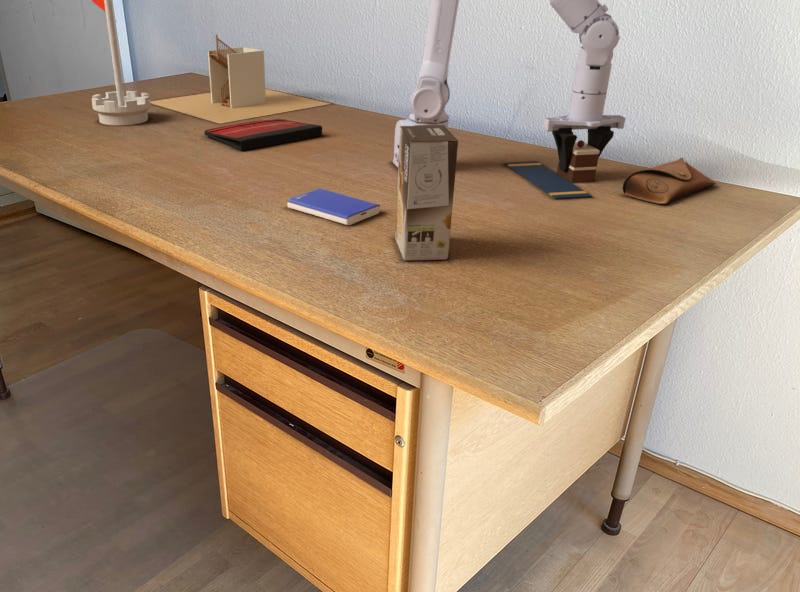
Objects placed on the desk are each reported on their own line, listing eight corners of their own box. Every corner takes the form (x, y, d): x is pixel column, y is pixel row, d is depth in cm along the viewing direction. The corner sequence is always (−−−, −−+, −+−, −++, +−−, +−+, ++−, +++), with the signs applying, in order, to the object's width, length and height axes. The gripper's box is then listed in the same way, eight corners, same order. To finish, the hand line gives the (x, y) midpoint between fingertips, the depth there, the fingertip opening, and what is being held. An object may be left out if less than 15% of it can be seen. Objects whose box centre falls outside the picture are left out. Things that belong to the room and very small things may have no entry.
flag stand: (164, 118, 175) (148, -25, 160) (122, 129, 165) (102, -23, 150) (124, 111, 181) (106, -27, 166) (82, 121, 171) (59, -25, 156)
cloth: (555, 199, 124) (555, 197, 124) (504, 164, 142) (505, 162, 142) (591, 197, 125) (591, 195, 125) (536, 162, 144) (536, 160, 143)
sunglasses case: (667, 203, 120) (656, 164, 120) (629, 215, 126) (618, 178, 126) (719, 183, 131) (708, 147, 130) (681, 195, 136) (671, 160, 136)
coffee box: (449, 260, 100) (460, 140, 92) (403, 261, 100) (409, 141, 92) (436, 236, 108) (444, 123, 100) (392, 237, 108) (398, 124, 100)
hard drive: (287, 198, 118) (347, 216, 111) (321, 187, 123) (380, 203, 116) (287, 208, 119) (346, 226, 112) (321, 196, 124) (379, 213, 117)
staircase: (211, 103, 191) (205, 33, 182) (245, 97, 197) (242, 29, 189) (231, 108, 185) (226, 36, 177) (265, 102, 192) (263, 33, 183)
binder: (322, 124, 159) (240, 139, 148) (322, 135, 161) (241, 151, 149) (278, 115, 170) (199, 128, 159) (279, 125, 172) (200, 139, 160)
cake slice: (571, 182, 132) (577, 145, 129) (556, 173, 137) (562, 136, 134) (594, 181, 133) (601, 143, 130) (578, 172, 138) (584, 135, 135)
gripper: (560, 97, 123) (548, 178, 130) (640, 94, 125) (624, 174, 132) (542, 89, 129) (531, 167, 136) (618, 87, 131) (604, 163, 138)
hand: (576, 169), depth 134 cm, fingers closed on cake slice, 4 cm apart
